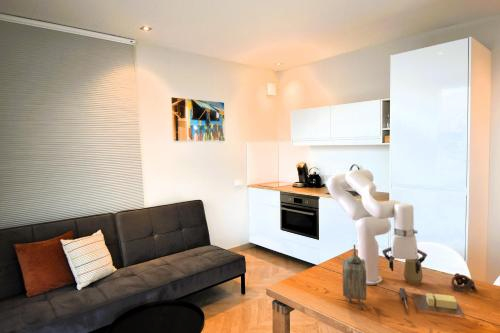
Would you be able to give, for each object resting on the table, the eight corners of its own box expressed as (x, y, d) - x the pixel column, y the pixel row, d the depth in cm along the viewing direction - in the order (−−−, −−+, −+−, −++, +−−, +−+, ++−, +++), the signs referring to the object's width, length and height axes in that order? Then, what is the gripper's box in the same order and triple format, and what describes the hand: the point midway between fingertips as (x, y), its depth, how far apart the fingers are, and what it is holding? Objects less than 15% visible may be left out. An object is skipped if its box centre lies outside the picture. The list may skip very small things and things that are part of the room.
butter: (436, 306, 124) (436, 299, 124) (433, 300, 129) (433, 293, 129) (456, 309, 122) (456, 302, 121) (453, 303, 126) (453, 296, 126)
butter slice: (428, 305, 125) (428, 298, 125) (426, 299, 130) (426, 292, 130) (434, 306, 124) (434, 299, 124) (431, 300, 129) (431, 293, 129)
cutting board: (417, 312, 123) (417, 309, 123) (412, 295, 136) (412, 293, 136) (464, 318, 117) (464, 315, 117) (454, 301, 130) (454, 298, 130)
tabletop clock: (366, 312, 124) (366, 251, 122) (343, 309, 126) (342, 250, 125) (364, 295, 138) (363, 240, 136) (343, 293, 140) (342, 239, 139)
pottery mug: (483, 297, 134) (477, 283, 132) (461, 304, 136) (455, 291, 134) (466, 278, 145) (461, 265, 143) (447, 286, 147) (441, 273, 145)
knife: (404, 314, 122) (404, 307, 121) (399, 293, 138) (399, 287, 138) (410, 314, 121) (410, 308, 121) (404, 293, 138) (404, 288, 138)
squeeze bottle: (421, 281, 149) (422, 245, 148) (423, 288, 142) (423, 250, 141) (403, 279, 153) (403, 243, 151) (403, 286, 145) (403, 248, 144)
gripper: (424, 231, 132) (425, 269, 133) (381, 229, 138) (382, 266, 139) (428, 235, 125) (428, 276, 126) (382, 233, 131) (383, 272, 132)
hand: (404, 271), depth 133 cm, fingers open, 9 cm apart
